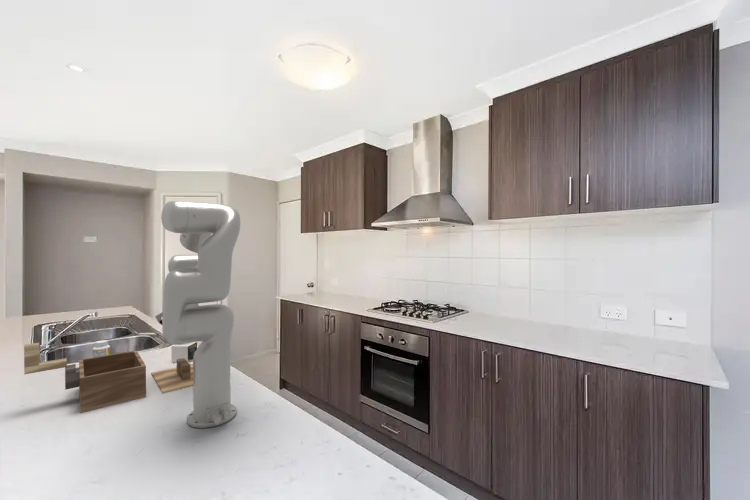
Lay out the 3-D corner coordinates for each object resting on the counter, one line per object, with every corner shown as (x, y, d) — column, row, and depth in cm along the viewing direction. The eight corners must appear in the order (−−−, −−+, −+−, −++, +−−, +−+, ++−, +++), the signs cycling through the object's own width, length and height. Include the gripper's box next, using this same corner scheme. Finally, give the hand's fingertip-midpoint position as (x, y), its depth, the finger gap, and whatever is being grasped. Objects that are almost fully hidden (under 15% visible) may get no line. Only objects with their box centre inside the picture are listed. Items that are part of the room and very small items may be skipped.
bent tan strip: (66, 367, 104) (66, 340, 104) (24, 374, 98) (24, 346, 98) (66, 364, 106) (66, 338, 106) (25, 371, 101) (25, 344, 100)
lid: (217, 382, 123) (217, 365, 123) (162, 395, 112) (162, 376, 112) (200, 365, 141) (200, 350, 141) (151, 375, 130) (151, 359, 130)
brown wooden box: (146, 396, 110) (145, 362, 110) (64, 416, 97) (64, 377, 97) (136, 377, 126) (136, 347, 126) (66, 392, 113) (65, 359, 113)
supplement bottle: (104, 363, 141) (104, 339, 141) (113, 365, 139) (113, 340, 139) (89, 368, 136) (89, 342, 136) (98, 370, 134) (98, 343, 134)
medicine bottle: (188, 362, 142) (188, 334, 142) (171, 362, 142) (171, 334, 142) (197, 357, 149) (197, 329, 149) (181, 357, 149) (181, 329, 149)
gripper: (205, 286, 135) (205, 330, 134) (153, 290, 123) (153, 338, 123) (210, 287, 129) (211, 333, 129) (157, 291, 118) (157, 341, 117)
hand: (183, 335), depth 126 cm, fingers open, 9 cm apart
